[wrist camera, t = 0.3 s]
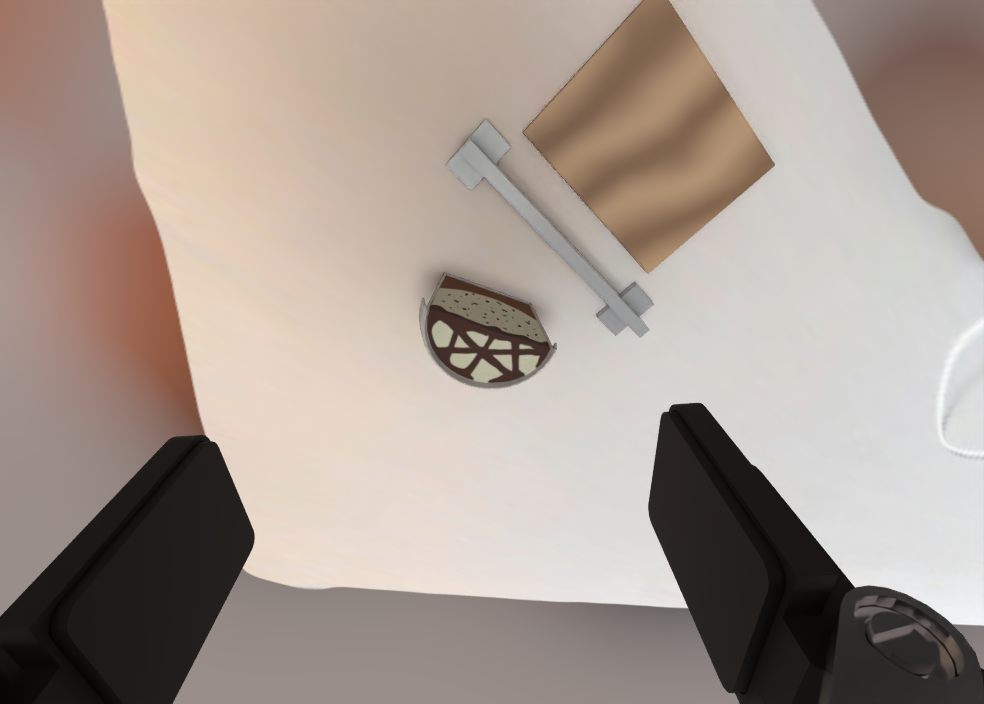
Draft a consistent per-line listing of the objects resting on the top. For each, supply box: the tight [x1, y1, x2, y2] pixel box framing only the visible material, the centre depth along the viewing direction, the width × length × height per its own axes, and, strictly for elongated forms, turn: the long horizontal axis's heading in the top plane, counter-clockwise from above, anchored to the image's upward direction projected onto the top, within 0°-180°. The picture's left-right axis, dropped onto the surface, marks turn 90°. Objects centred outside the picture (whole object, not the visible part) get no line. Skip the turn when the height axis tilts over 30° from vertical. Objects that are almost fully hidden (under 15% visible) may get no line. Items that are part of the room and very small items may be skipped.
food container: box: [419, 272, 557, 389], centre depth 43 cm, size 12×6×10 cm, turn 69°
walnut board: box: [523, 0, 775, 273], centre depth 40 cm, size 18×14×1 cm
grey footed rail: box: [446, 119, 654, 337], centre depth 42 cm, size 24×5×4 cm, turn 45°
